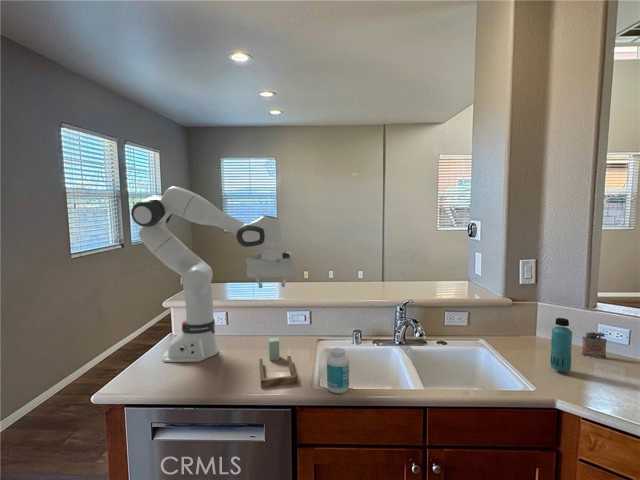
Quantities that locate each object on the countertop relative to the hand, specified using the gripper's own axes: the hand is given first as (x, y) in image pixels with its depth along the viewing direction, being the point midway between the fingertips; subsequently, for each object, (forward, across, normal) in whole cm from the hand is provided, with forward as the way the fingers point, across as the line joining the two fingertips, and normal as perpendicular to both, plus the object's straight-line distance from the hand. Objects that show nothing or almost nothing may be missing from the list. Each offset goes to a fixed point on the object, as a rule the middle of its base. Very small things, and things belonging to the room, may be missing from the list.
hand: (271, 287), depth 150 cm
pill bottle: (+29, +20, -35) cm, 50 cm away
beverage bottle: (+30, +102, -41) cm, 114 cm away
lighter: (+30, +128, -32) cm, 135 cm away
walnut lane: (+29, 0, -18) cm, 34 cm away
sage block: (+29, 0, -4) cm, 29 cm away
